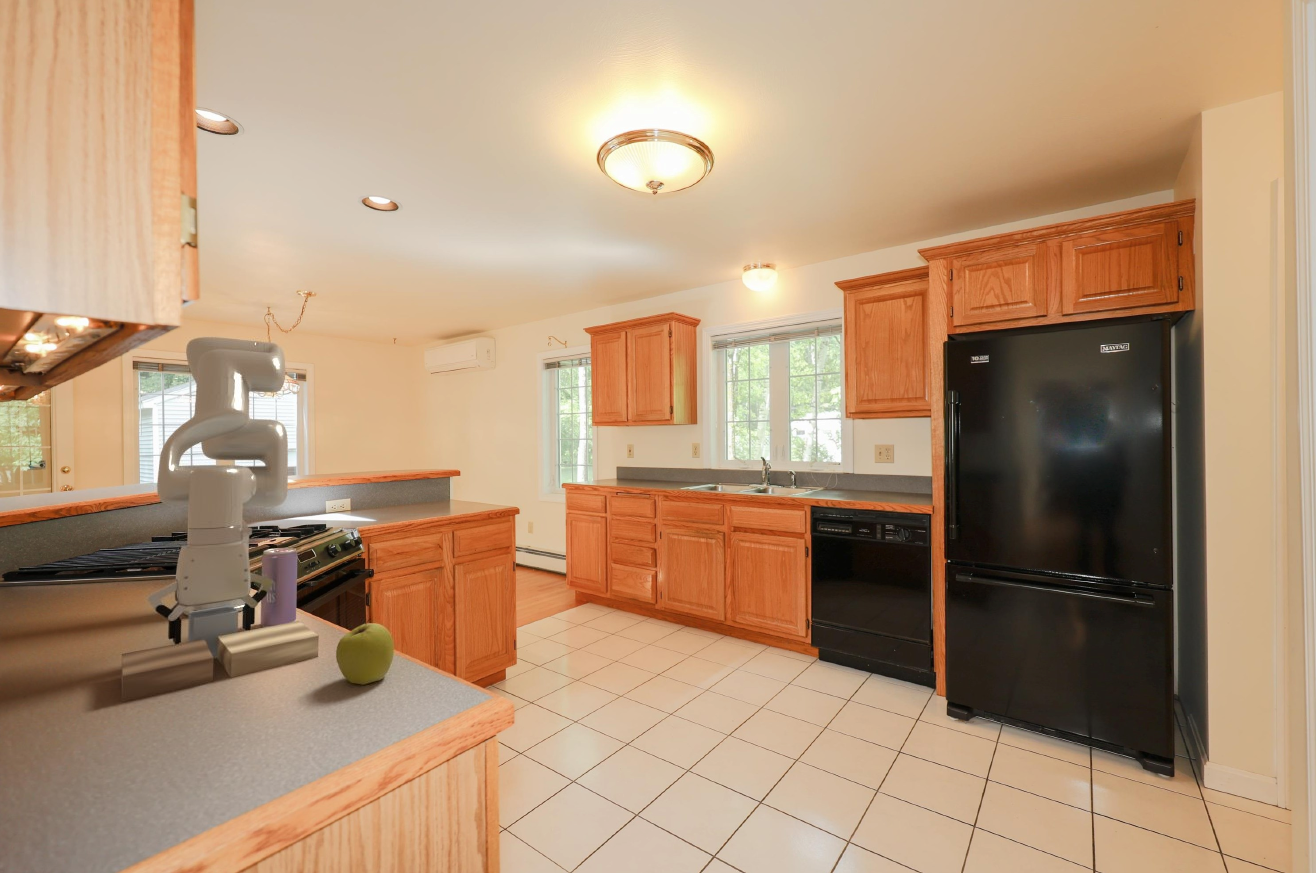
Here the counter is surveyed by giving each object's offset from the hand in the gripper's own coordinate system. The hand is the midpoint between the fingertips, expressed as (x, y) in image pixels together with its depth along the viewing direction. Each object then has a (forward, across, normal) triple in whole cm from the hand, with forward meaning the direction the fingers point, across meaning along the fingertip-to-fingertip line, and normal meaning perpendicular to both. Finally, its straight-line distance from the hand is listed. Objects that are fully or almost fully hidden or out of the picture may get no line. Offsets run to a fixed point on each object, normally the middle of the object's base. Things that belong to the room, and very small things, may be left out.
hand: (212, 635), depth 98 cm
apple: (+4, -14, +32) cm, 35 cm away
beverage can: (+3, -12, -10) cm, 16 cm away
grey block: (+3, 0, 0) cm, 3 cm away
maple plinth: (+4, -6, +10) cm, 12 cm away
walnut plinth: (+4, +7, +10) cm, 12 cm away
